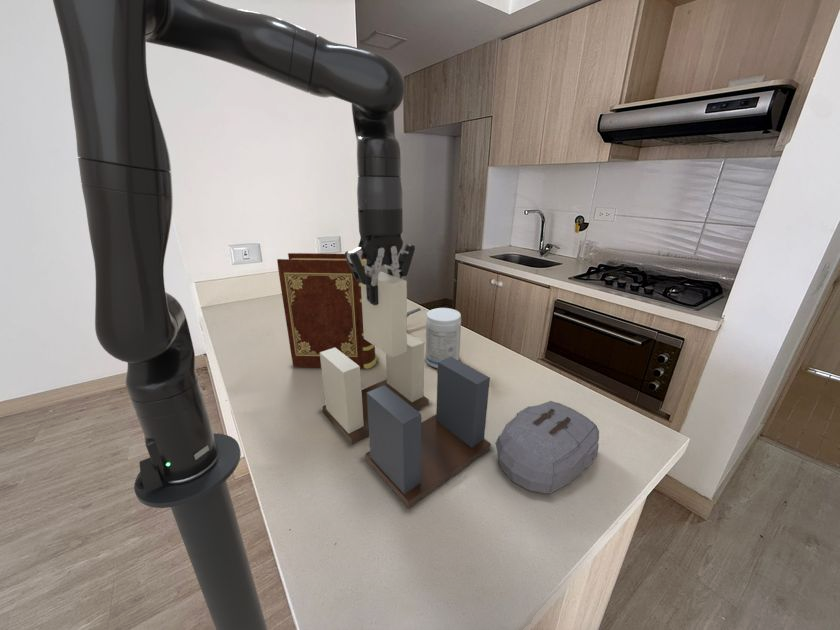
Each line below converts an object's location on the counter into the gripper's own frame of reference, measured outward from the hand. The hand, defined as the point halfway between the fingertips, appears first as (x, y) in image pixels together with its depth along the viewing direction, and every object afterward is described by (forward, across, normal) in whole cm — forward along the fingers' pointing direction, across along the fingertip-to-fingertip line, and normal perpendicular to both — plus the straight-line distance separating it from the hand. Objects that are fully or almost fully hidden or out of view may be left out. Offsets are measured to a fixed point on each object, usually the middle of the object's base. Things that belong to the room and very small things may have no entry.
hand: (383, 301), depth 64 cm
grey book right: (+25, -8, +14) cm, 30 cm away
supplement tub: (+27, -26, -10) cm, 39 cm away
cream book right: (+25, -8, -4) cm, 27 cm away
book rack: (+27, 0, +5) cm, 27 cm away
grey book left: (+25, +8, +14) cm, 30 cm away
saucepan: (+27, -29, -36) cm, 53 cm away
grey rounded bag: (+27, -16, +28) cm, 42 cm away
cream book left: (+25, +8, -4) cm, 27 cm away
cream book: (+9, 0, 0) cm, 9 cm away
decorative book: (+27, -3, -29) cm, 40 cm away
